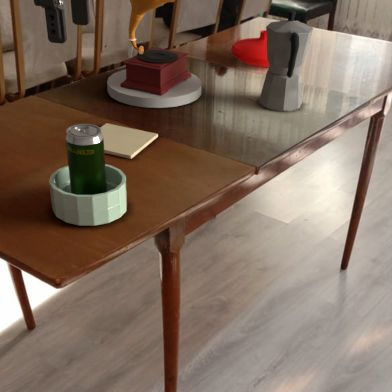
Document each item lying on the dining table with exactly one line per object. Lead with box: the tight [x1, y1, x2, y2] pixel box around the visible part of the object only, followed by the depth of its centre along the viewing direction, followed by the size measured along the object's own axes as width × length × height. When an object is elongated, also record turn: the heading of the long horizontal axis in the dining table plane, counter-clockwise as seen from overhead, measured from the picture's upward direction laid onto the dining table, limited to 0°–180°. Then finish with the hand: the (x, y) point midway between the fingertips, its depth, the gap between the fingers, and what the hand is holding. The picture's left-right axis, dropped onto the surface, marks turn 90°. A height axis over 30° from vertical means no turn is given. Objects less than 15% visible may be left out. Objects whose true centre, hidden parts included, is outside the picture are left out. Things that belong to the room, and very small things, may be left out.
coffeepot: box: [258, 9, 314, 112], centre depth 127 cm, size 15×9×18 cm, turn 2°
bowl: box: [48, 163, 128, 227], centre depth 95 cm, size 11×11×5 cm
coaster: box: [99, 122, 159, 160], centre depth 116 cm, size 11×11×1 cm
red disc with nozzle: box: [230, 29, 269, 68], centre depth 152 cm, size 16×16×7 cm
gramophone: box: [106, 0, 202, 109], centre depth 129 cm, size 20×20×25 cm
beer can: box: [64, 123, 107, 195], centre depth 92 cm, size 5×5×12 cm
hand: (70, 33), depth 80 cm, fingers open, 8 cm apart
